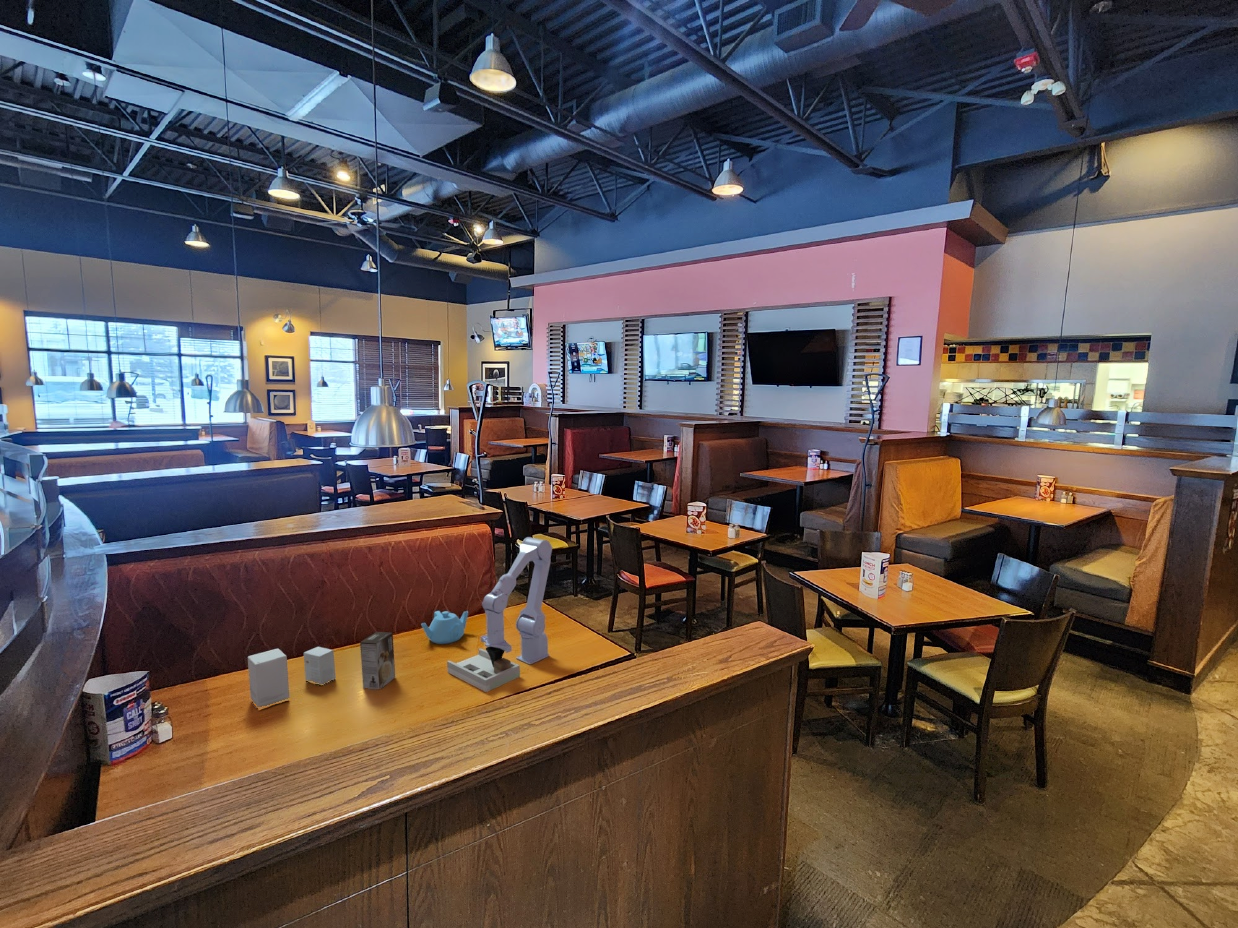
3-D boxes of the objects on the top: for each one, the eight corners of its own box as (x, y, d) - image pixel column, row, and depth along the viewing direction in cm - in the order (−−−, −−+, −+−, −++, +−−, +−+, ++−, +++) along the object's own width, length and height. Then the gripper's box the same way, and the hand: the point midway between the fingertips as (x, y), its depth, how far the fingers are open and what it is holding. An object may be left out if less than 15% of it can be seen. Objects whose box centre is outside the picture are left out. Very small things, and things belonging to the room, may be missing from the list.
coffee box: (379, 675, 198) (376, 630, 197) (395, 677, 197) (393, 632, 196) (362, 688, 189) (359, 641, 188) (379, 690, 188) (377, 643, 187)
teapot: (471, 630, 238) (470, 605, 237) (460, 645, 223) (459, 618, 222) (434, 630, 238) (433, 605, 237) (421, 645, 224) (419, 618, 222)
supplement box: (290, 701, 182) (287, 655, 180) (258, 711, 176) (254, 664, 174) (282, 691, 188) (278, 647, 187) (250, 701, 182) (246, 655, 180)
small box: (336, 679, 196) (334, 649, 195) (321, 686, 191) (319, 656, 190) (319, 675, 200) (317, 645, 198) (305, 682, 194) (303, 652, 193)
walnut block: (503, 668, 198) (503, 657, 198) (510, 672, 196) (510, 660, 195) (494, 672, 195) (493, 661, 195) (501, 676, 193) (500, 664, 192)
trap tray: (481, 658, 211) (480, 648, 211) (519, 676, 197) (519, 665, 196) (447, 672, 200) (447, 661, 200) (486, 692, 186) (485, 680, 186)
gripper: (472, 626, 198) (474, 664, 200) (499, 637, 189) (500, 677, 190) (489, 620, 204) (490, 657, 205) (516, 630, 194) (517, 669, 195)
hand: (496, 666), depth 198 cm, fingers closed
